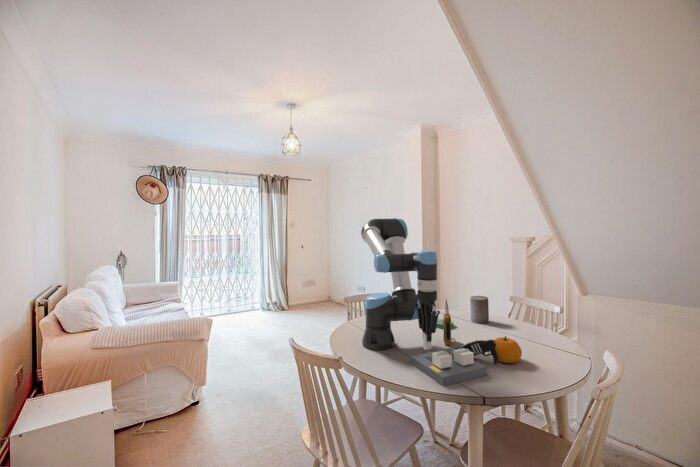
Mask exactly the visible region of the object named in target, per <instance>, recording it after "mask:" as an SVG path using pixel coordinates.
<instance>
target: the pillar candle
mask: <svg viewBox="0 0 700 467" xmlns="http://www.w3.org/2000/svg"><path fill="white" fill-rule="evenodd" d="M469 299H470V302H469V303H470V304H469V305H470V321H471V322H472V323H475V324H481V325H482V324H489V321H490V318H489V316H490V315H489V309H490V308H489V297H487V296H483V295H471V296H470V298H469Z"/></svg>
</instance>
